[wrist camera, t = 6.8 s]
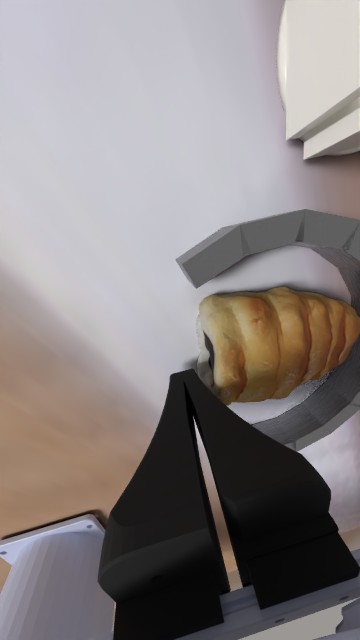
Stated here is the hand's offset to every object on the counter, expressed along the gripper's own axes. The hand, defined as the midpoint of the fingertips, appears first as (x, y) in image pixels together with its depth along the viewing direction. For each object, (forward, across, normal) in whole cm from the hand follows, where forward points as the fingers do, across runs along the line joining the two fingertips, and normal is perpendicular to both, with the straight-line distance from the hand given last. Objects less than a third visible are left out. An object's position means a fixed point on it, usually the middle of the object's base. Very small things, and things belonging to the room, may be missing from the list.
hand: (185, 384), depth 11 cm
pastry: (+2, -5, -1) cm, 6 cm away
